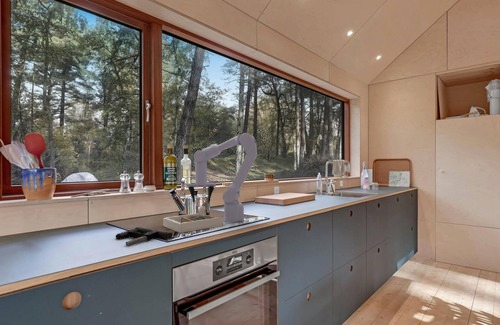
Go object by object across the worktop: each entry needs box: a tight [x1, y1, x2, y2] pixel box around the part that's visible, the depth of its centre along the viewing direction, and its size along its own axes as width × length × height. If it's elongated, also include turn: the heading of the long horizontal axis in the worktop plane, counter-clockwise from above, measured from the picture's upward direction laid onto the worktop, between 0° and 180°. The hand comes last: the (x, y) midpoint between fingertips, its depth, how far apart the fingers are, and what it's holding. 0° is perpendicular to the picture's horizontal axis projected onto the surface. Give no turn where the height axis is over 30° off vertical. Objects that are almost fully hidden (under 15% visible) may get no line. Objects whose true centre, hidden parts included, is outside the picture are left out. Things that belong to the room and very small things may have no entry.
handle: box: [198, 205, 206, 220], centre depth 134 cm, size 3×3×7 cm
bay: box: [162, 211, 225, 234], centre depth 131 cm, size 22×17×4 cm
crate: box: [182, 214, 216, 223], centre depth 134 cm, size 12×14×3 cm
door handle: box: [115, 226, 173, 247], centre depth 109 cm, size 3×20×16 cm
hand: (201, 201), depth 145 cm, fingers open, 7 cm apart
